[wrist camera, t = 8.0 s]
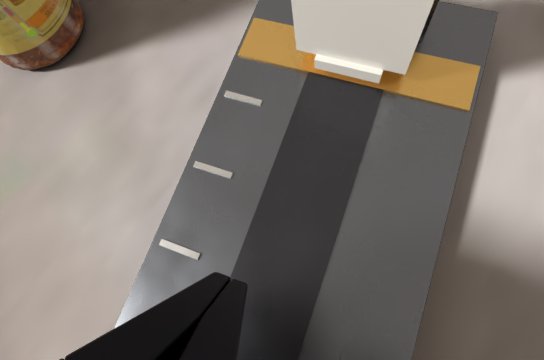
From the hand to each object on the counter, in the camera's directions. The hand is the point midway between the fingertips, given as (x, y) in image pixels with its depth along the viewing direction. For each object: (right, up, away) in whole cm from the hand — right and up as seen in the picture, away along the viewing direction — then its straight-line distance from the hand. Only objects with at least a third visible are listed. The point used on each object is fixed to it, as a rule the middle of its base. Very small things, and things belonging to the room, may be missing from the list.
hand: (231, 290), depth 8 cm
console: (+3, +1, +9) cm, 10 cm away
